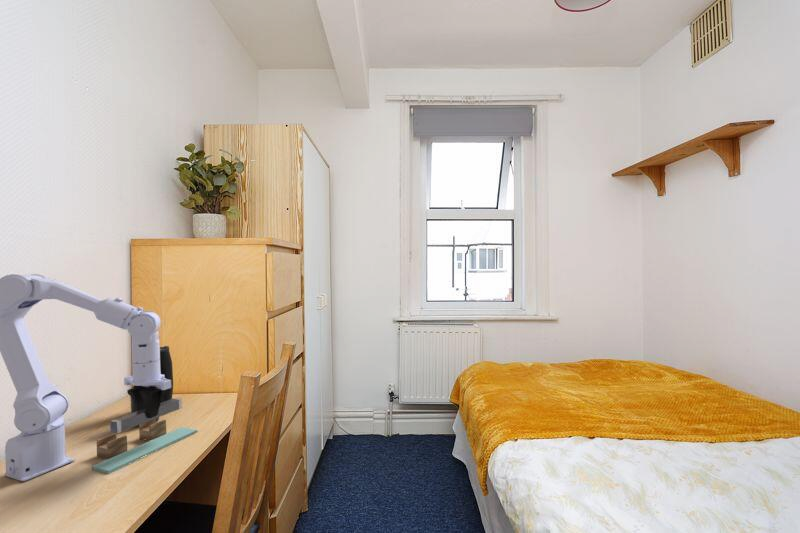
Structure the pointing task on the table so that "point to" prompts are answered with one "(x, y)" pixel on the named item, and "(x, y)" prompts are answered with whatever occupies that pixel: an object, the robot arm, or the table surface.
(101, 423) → the table surface
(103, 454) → the cradle left
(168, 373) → the portable speaker
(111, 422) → the rail
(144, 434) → the cradle right
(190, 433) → the mat
